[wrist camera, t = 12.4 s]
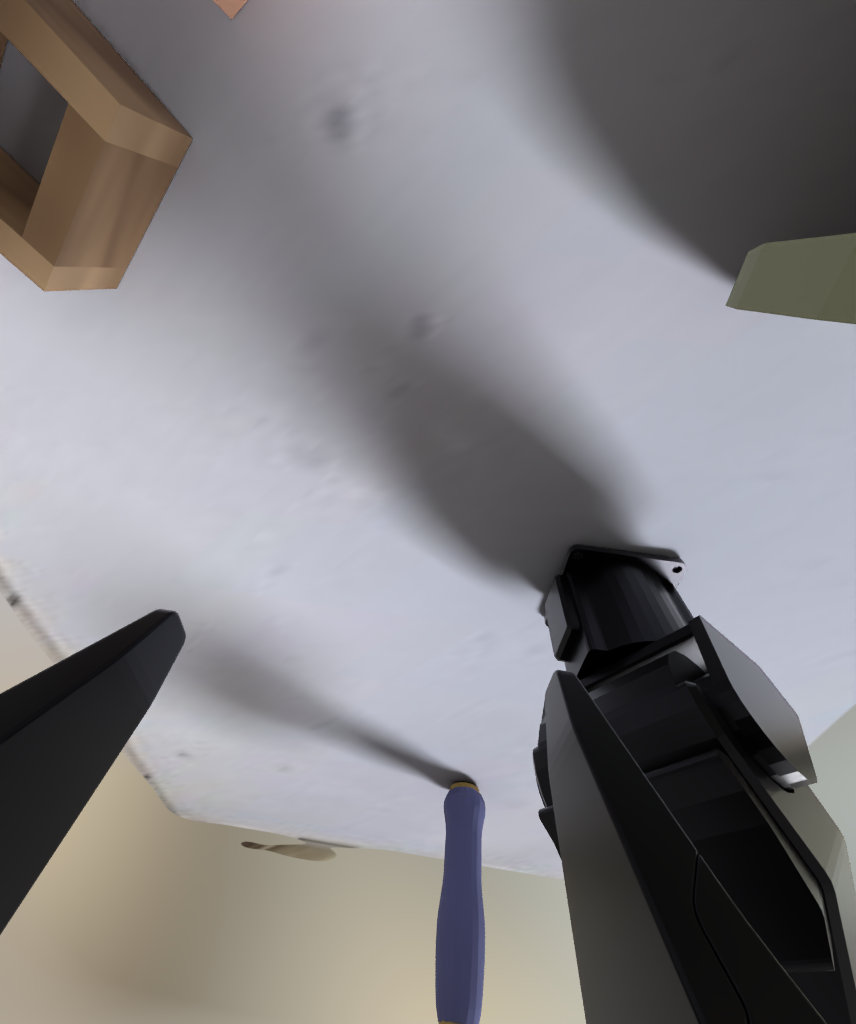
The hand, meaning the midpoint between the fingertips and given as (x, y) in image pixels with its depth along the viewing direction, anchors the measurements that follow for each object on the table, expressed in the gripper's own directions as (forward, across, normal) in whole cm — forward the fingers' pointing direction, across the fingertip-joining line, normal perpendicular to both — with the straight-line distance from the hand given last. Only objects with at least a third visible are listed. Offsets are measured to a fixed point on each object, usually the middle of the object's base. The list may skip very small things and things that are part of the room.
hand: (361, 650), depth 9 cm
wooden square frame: (+13, +15, -11) cm, 23 cm away
